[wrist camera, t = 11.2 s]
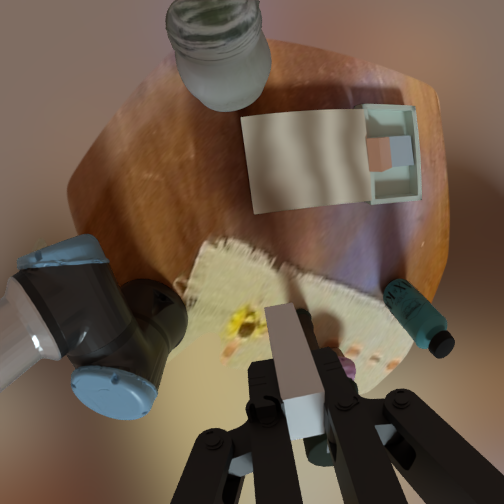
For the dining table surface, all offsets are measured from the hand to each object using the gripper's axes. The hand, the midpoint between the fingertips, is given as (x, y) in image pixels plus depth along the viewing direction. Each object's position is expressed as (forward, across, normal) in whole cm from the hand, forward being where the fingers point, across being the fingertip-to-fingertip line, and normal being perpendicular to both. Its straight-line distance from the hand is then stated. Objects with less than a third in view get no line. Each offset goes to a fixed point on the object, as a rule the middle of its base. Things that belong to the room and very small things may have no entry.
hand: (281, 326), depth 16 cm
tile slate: (+30, +25, +7) cm, 40 cm away
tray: (+33, +24, +6) cm, 41 cm away
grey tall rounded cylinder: (+34, 0, +20) cm, 39 cm away
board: (+33, +10, +7) cm, 35 cm away
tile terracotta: (+29, +20, +6) cm, 36 cm away
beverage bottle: (+33, +25, -20) cm, 46 cm away
